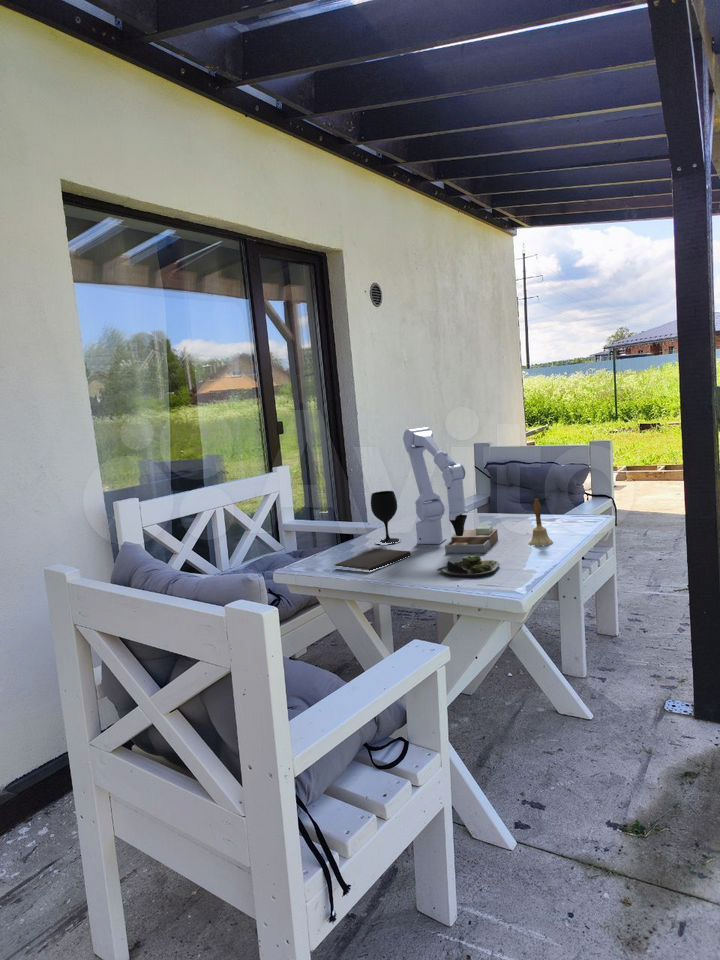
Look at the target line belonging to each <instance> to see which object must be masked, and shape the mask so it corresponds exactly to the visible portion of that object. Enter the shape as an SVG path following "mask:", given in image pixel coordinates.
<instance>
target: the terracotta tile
mask: <svg viewBox="0 0 720 960" xmlns="http://www.w3.org/2000/svg"><path fill="white" fill-rule="evenodd" d="M452 545H468V543H454V544H452Z"/></svg>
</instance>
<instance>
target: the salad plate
mask: <svg viewBox="0 0 720 960" xmlns="http://www.w3.org/2000/svg"><path fill="white" fill-rule="evenodd" d="M461 559H462V560H461ZM461 559H460V560H455V561H449V560H448V561H447V562H446V563H447V565H445V566H442V567H439V568H437V569H436V571H438V572H439V573H442V574H444V576H446V577H449V578H456V579H459V578H460V579H479V578H480V579H481V578H486V577H488V576H491V575H493V574H494V573H495V572H496V570H497V569H498V568H499V566H500V562H499V561H498V560H492V559H491V560H488V559H486V560H483V559H482V558H481V556H480V555H476V556H475V554H473V555H472V556H470V555H469V556H467V557H462V558H461Z"/></svg>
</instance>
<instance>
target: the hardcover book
mask: <svg viewBox="0 0 720 960" xmlns="http://www.w3.org/2000/svg"><path fill="white" fill-rule="evenodd" d="M411 553H412V552H411V551H409V550H397V549H387V548H386V549H385V548H375V549H372V550H369V551H367V552H363V553H361V554H358V555H355V556H353V557H350V558H348V559H346V560H342V561H341V562H337V563H335V564H334V566H335V567H336V566H343V567H349V568H355V569H361V570H369V571H370V570H373V569H376V568H379V567H382V566H385V565H387V564H390V563H393V562H396V561H398V560H400V559H403V558H405V557H408V556H410V555H411V556H412V554H411ZM411 556H410V557H411ZM408 558H409V557H408ZM403 560H404V559H403ZM398 562H399V561H398ZM396 563H397V562H396Z"/></svg>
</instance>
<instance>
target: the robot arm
mask: <svg viewBox="0 0 720 960" xmlns="http://www.w3.org/2000/svg"><path fill="white" fill-rule="evenodd" d="M402 441H403V444H404V448H405V451H406V453H408V456H409V460H410V464H411V467H412V471H413V474H414V478H415V483H416V486H417V489H418V493H419V496H418V498H417V499H416V500H415V502H414V503H415V513H416V516H417V518H418V520H417V521H416V523H415V531H416V532H415V533H416V544H417V545H428V544H429V545H430V544H431V545H432V544H433V545H434V544H435V545H436V544H437V545H440V544H442V543H443V542H444V541H445V540H447V537H444V536H443V529H442V526H443V525H442V519H443V515H444V514H445V504H444V503H443V501H442V499H441V496H440V495H439V494H437V493H436V492H434V490H433V487H432V483H431V479H430V476H429V471H428V469H427V464H426V461H425V458H424V451H425V450H426V451H428V453H430V454H431V455H432V457H433V462H434V464H435V465H436V466H437V468H438V469H439V470H440V472H442V475H441V476H442V479H443V481H444V485H445V488H447V489H446V491H447V492H446V493H447V500H448V521H449V522H450V524H451V525H452V527H453V531H454V532H455V534H456V536H463V532H464V530H465V524H466V521H467V517H468V515H467V513H469V512H470V511H469V509H467V508H466V503H465V493H464V481H463V480H464V479H465V478H466V469H465V467H464V465H463V464H462V463H458V462H455V461H454V460H453V458H452V457H451V456H450V455H449V453H448V452H447V451H445V450H441V448H440V446H439V445H438V444H437V442H436V441H435V439H434V434H433V431H432V430H431V428H430V427H428V426H423V427H418V428H410V429H405V430H404V432H403V436H402Z"/></svg>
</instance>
